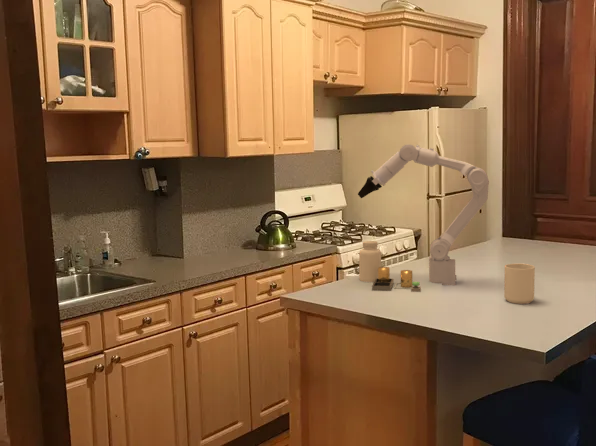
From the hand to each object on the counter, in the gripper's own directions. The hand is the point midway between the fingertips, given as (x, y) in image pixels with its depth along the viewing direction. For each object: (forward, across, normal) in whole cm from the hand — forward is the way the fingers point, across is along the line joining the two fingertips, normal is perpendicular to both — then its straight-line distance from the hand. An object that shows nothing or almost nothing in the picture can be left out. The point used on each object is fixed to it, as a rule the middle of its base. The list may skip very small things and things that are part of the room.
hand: (360, 195), depth 230 cm
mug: (-18, +21, +59) cm, 65 cm away
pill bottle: (+19, 0, +26) cm, 32 cm away
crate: (+15, +11, +30) cm, 35 cm away
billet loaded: (+14, +8, +29) cm, 33 cm away
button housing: (+6, +16, +37) cm, 41 cm away
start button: (+6, +16, +37) cm, 41 cm away
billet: (+8, +10, +35) cm, 37 cm away
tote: (+9, +10, +35) cm, 37 cm away
